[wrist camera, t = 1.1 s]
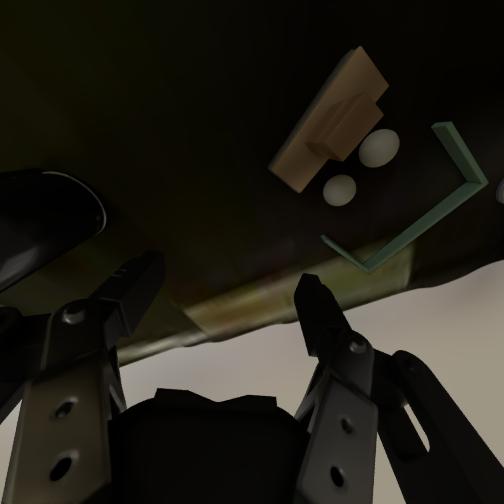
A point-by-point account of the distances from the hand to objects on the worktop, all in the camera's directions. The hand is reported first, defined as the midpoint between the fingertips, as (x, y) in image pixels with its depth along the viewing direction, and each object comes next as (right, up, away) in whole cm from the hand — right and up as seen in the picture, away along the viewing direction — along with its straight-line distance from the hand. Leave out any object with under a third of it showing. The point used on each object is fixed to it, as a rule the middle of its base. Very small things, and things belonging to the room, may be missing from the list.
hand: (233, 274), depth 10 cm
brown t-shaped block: (+9, +16, +12) cm, 22 cm away
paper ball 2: (+16, +14, +11) cm, 24 cm away
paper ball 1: (+13, +10, +14) cm, 21 cm away
